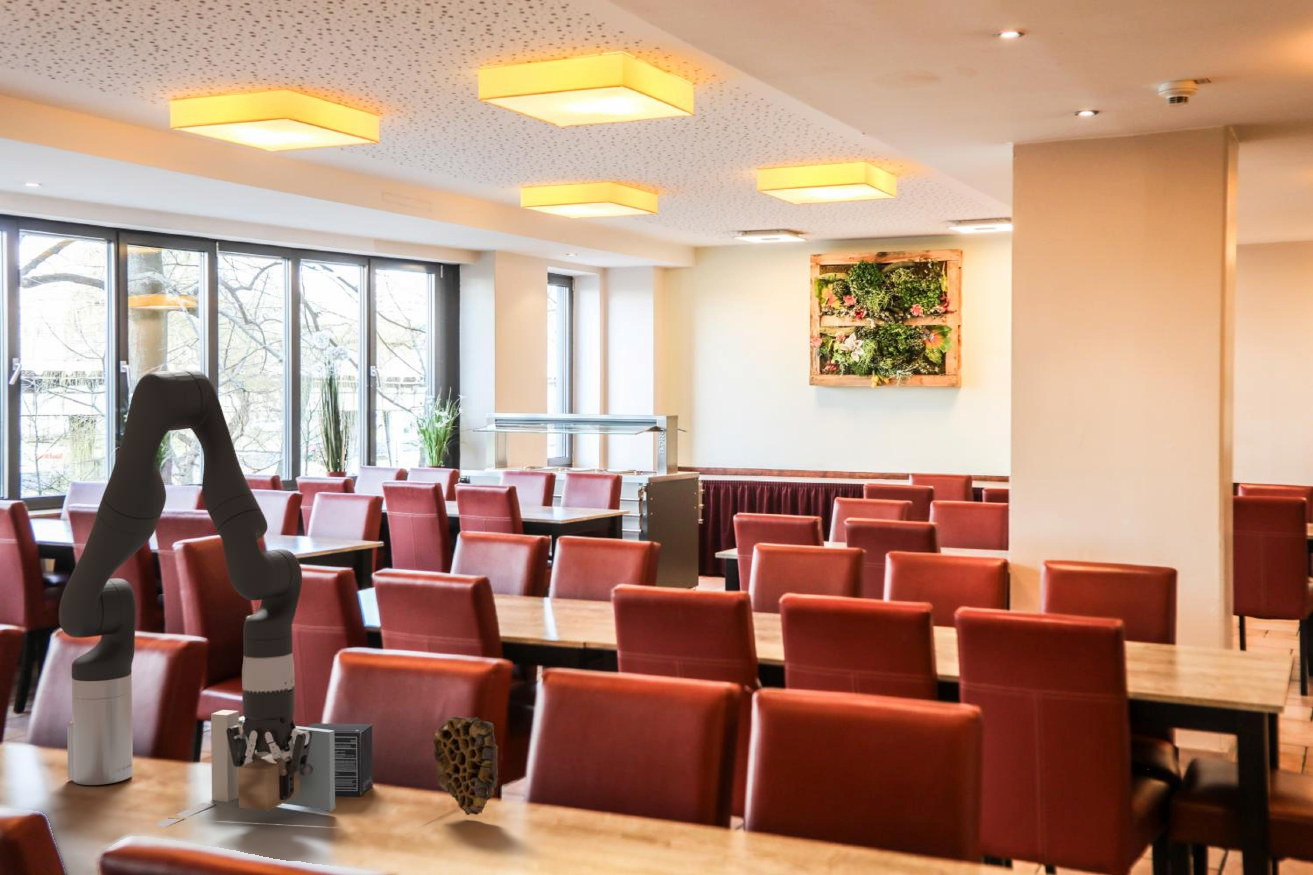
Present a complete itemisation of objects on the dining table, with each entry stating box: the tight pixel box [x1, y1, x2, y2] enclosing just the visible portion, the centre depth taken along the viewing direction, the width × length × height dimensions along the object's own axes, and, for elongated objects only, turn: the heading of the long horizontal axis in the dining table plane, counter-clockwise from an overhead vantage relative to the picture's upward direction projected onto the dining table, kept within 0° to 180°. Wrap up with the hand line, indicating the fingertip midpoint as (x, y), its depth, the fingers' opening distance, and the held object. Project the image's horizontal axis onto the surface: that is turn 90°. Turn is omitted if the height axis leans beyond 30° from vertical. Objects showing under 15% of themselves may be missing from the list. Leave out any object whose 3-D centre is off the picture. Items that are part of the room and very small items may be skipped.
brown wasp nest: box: [433, 716, 499, 816], centre depth 195 cm, size 11×4×15 cm, turn 74°
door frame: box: [154, 709, 245, 828], centre depth 197 cm, size 3×32×14 cm, turn 162°
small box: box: [306, 722, 374, 797], centre depth 208 cm, size 11×6×10 cm, turn 84°
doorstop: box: [238, 754, 300, 812], centre depth 191 cm, size 5×8×6 cm, turn 161°
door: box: [239, 720, 336, 811], centre depth 198 cm, size 3×18×12 cm, turn 66°
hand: (269, 796), depth 191 cm, fingers closed on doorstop, 5 cm apart
